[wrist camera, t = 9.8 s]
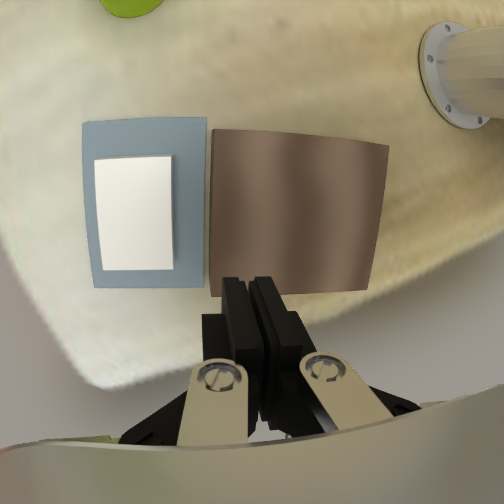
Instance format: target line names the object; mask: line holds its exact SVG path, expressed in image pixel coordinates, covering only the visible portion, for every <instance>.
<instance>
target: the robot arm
mask: <svg viewBox="0 0 504 504" xmlns="http://www.w3.org/2000/svg"><path fill="white" fill-rule="evenodd" d="M419 61H420V70H421V75H422V79H423V83H424V86H425V88H426V91H427V94H428V95H429V97H430V99H431V101H432V103H433V105H434V106H435V108H436V109H437V110H438V112H439V113H440V114H441V115H442V116H443V117H444V118H445V119H446V120H447V121H448V122H450V123H451V124H453V125H455V126H457V127H459V128H465V129H476V128H480V127H481V126H483V125H484V124H486V123H487V121H488V120H489V119H490V118H501V119H504V25H499V26H493V27H487V28H481V29H475V30H469V29H467V28H466V27H464V26H463V25H461V24H458V23H455V22H450V21H448V22H441V23H438V24H435V25H433V26H432V27H430V28H429V29H428V31H427V32H426V33H425V35H424V37H423V39H422V42H421V46H420V57H419ZM202 342H203V362H202V363H200V364H198V365H197V366H196V367H195V368H194V369H193V371H192V373H191V377H190V382H189V387H188V390H187V391H186V392H184V393H183V394H181V395H180V396H178V397H177V398H175V399H174V400H173V401H171V402H170V403H168V404H167V405H166V406H164V407H162V408H161V409H159V410H158V411H156V412H155V413H153V414H152V415H150V416H149V417H148V418H146V419H145V420H143V421H141V422H140V423H138V424H137V425H135V426H134V427H132V428H131V429H129V430H128V431H127V432H125V433H124V434H123V435H122V436H121V438H116V439H111V437H110V435H107V436H96V437H82V438H64V439H45V440H39V441H35V442H29V443H21V444H15V445H12V446H8V447H5V448H2V449H0V504H504V384H499V385H495V386H491V387H487V388H483V389H481V390H478V391H475V392H472V393H469V394H466V395H463V396H460V397H457V398H455V399H451V400H448V401H438V402H428V403H421V404H420V406H418V405H416V404H415V403H413V402H411V401H409V400H406V399H403V398H400V397H397V396H395V395H392V394H389V393H386V392H384V391H381V390H378V389H376V388H373V387H370V386H368V385H367V384H366V383H365V382H364V381H363V380H362V378H361V377H360V376H359V375H358V374H357V372H356V371H355V370H354V369H353V368H352V366H351V365H350V364H349V363H348V362H347V361H346V360H345V359H343V358H342V357H340V356H339V355H337V354H333V353H330V352H317V350H316V348H315V346H314V345H313V342H312V341H311V339H310V337H309V335H308V333H307V331H306V329H305V327H304V325H303V323H302V321H301V319H300V317H299V315H298V313H297V312H296V311H287V309H286V307H285V305H284V303H283V301H282V299H281V296H280V294H279V292H278V290H277V288H276V286H275V284H274V282H273V279H272V277H271V276H258V277H255V278H254V281H249V283H248V290H247V287H246V284H245V281H239V277H222V314H202ZM258 412H259V413H260V417H261V420H262V421H268V425H269V429H270V430H280V431H282V432H284V433H286V435H285V439H281V440H273V441H263V442H254V443H247V439H248V437H249V436H250V435H251V434H252V433H253V432H254V431H255V428H256V422H257V420H258Z"/></svg>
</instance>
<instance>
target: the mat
mask: <svg viewBox="0 0 504 504" xmlns="http://www.w3.org/2000/svg"><path fill="white" fill-rule="evenodd" d="M206 120H207V118H202V117H174V118H140V119H122V120H107V121H95V122H85V123H82V163H83V188H84V204H85V217H86V228H87V238H88V246H89V255H90V262H91V269H92V276H93V283H94V288H197V287H204V177H205V144H206ZM165 154H173V217H174V251H175V260H174V268H173V269H171V270H103V266H102V258H101V250H100V241H99V231H98V220H97V207H96V191H95V168H94V160H96V159H99V158H102V157H116V156H136V155H165Z"/></svg>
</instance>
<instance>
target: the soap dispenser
mask: <svg viewBox="0 0 504 504" xmlns="http://www.w3.org/2000/svg"><path fill="white" fill-rule="evenodd" d="M100 1H101V3H102V4H103V5H104V7H105V8H106V9H107V10H108V11H109V12H110V13H111V14H113V15H115V16H118V17H123V18H131V17H137V16H141V15H144V14H146V13H148V12H150V11H152V10H153V9H155V8H156V7H157V6H158V5H159V4H160V3H161V2H162V1H163V0H100Z"/></svg>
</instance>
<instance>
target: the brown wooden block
mask: <svg viewBox="0 0 504 504" xmlns="http://www.w3.org/2000/svg"><path fill="white" fill-rule="evenodd" d="M388 153H389V146H388V145H382V144H375V143H369V142H362V141H355V140H348V139H340V138H332V137H323V136H314V135H304V134H293V133H281V132H267V131H249V130H223V129H213V130H212V144H211V173H210V215H209V280H210V289H211V297H222V277H239V281H245V284H246V287H247V290H248V283H249V281H254V278H255V277H258V276H271V277H272V279H273V282H274V284H275V286H276V288H277V290H278V292H279V294H280V295H287V294H307V293H325V292H342V291H357V290H367V287H368V283H369V278H370V273H371V268H372V263H373V258H374V252H375V247H376V241H377V235H378V229H379V223H380V217H381V210H382V203H383V196H384V188H385V181H386V172H387V163H388Z"/></svg>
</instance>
